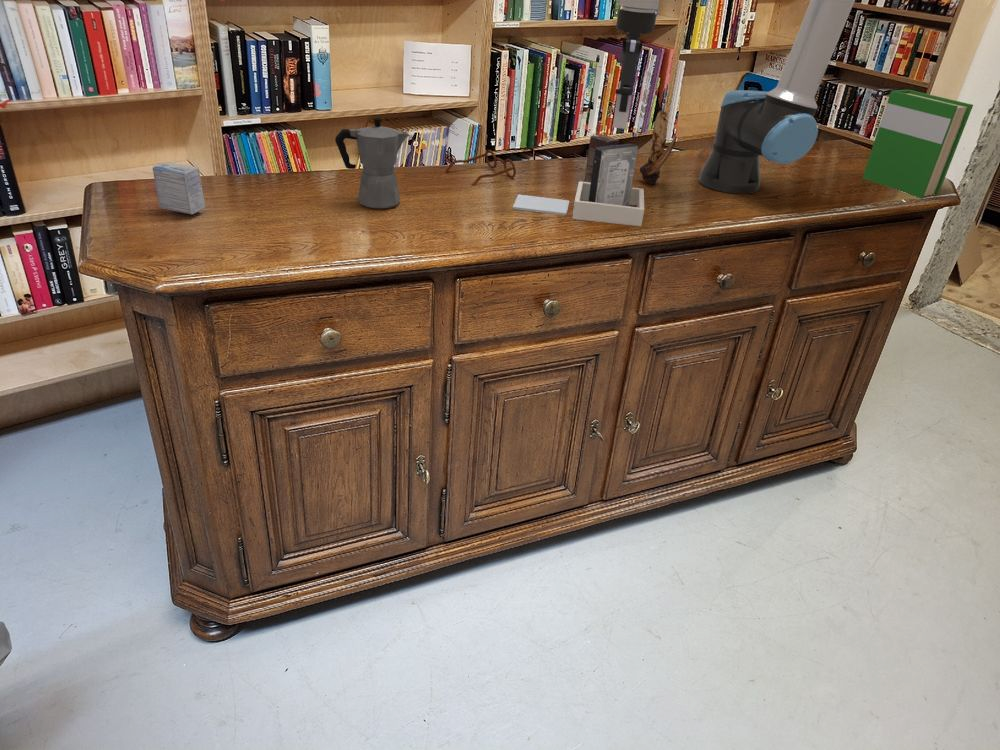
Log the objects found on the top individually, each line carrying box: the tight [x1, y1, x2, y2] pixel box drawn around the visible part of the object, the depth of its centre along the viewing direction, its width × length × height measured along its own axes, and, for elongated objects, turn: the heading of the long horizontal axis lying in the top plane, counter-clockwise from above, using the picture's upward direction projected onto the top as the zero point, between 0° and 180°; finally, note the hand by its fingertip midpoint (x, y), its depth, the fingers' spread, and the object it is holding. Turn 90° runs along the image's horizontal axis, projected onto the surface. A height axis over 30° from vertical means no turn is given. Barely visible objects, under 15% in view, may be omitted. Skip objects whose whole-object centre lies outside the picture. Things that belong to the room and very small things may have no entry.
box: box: [583, 134, 620, 183], centre depth 180 cm, size 6×4×12 cm
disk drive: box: [587, 143, 639, 206], centre depth 164 cm, size 10×3×15 cm, turn 122°
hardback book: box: [861, 89, 974, 200], centre depth 192 cm, size 18×7×24 cm, turn 30°
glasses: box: [444, 149, 517, 187], centre depth 184 cm, size 13×13×5 cm
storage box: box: [572, 180, 645, 227], centre depth 167 cm, size 15×15×4 cm
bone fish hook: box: [639, 110, 677, 185], centre depth 182 cm, size 9×5×18 cm, turn 14°
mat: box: [512, 194, 570, 216], centre depth 168 cm, size 12×9×1 cm
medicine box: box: [152, 161, 206, 215], centre depth 149 cm, size 8×4×9 cm, turn 71°
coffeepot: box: [334, 116, 410, 209], centre depth 158 cm, size 15×9×18 cm, turn 107°
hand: (620, 120), depth 157 cm, fingers open, 13 cm apart
